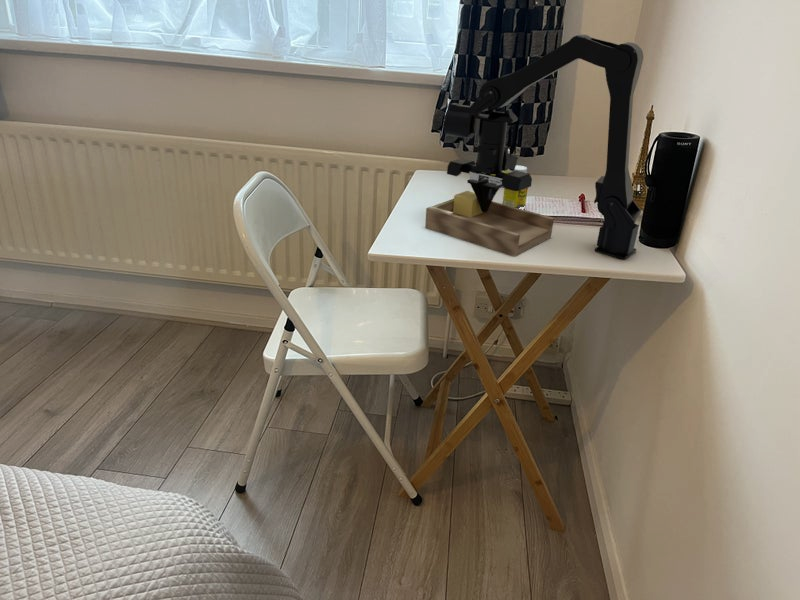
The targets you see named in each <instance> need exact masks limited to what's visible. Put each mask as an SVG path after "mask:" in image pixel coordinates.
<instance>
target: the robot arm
mask: <svg viewBox="0 0 800 600" xmlns="http://www.w3.org/2000/svg"><path fill="white" fill-rule="evenodd" d="M577 60H582V61H585V62H588V63H589V64H592V65H593V66H597V67H600V68H603V69H604V72H605V80H606V85H607V90H608V93H609V100H610V101H609V114H608V115H609V117H608V129H607V130H608V131H607V132H608V133H607V149H606V150H607V151H606V153H607V154H606V165H605V166H606V168H605V169H606V170H605V175H601V176H600V177H599V178H598V179H597V180H596V182H595V183H594V185H595V186H594V187H595V198H594V201H593V203H594V204H596V206H597V210H598V213H600V214H601V215H602V217H603V222H602V226H600V227H599V229H598V234H597V235H598V236H597V241H596V246H597V247H595V248H594V251H595V252H596V253H600V254H604V255H608V256H611V257H614V258H618V259H621V260H626V259H627V258H629V257H631V256H632V255H633V254H635V253H636V252H637V248H635V245H636V240H637V236H638V232H639V228H640V225H639V224H636V221H637V220H638V218H639V217H640V215H641V213H642V209H641V208H640V207H639V206H638V205H637V203H636V202H635V201H634V194H633V186H632V179H631V175H630V170H629V162H630V161H629V160H630V146H631V132H632V121H633V120H632V118H633V117H632V116H633V114H632V113H633V103H634V94H635V90H636V87H637V84H638V80H639V77H640V75H641V70H642V65H643V61H644V52H643V50H642V48H641V47H640V46H639V45H638V44H637V43H635V42H630V41H629V42H624V43H620V44H617V43H614V42H610V41H606V40H602V39H599V38H595V37H591V36H590V35H588V34H578V35H574V36H572V37H571V38H570V40H568V41H567V42H564V43H563V44H561V45H560V46H558V47H556V48H555V49H553V50H551V51H550V52H548V53H546V54H544V55H543V56H541V57H539V58H537V59H535V60H534V61H532V62H530V63H529V64H527V65H525V66H523V67H522V68H521V69H518V70H517V71H516V70H515V71H514V72H510V73H508V74H505V75H502V76H499V77H497V78H494V79H490V80H488V81H486V82H484V83H483V84H482V85H481V86H480V88H479V92H478V97H477V98H476V99H475V100H474V102H473V103H472V104H471V105H466V104H461V103H458V102H457V103H456V102H453V103H450V104H449V105H448V107H449V108H448V111H447V112H446V114H445V119H444V121H443V133H444V134H445V136H448V137H449V136H451V137H457V138H465V139H470V140H471V139H473V138H474V137H475V135H478V137H477V138H478V139H477V145H475V146H473V151H474V152H476V161H475V160H473V159H472V160H471V159H466V158H463V157H460V158H458V159H453V160H451V161H449V163H448V164H447V167H446V175H450V176H453V177H459V176H460V175H461V174H462V173H466V174H469V179H467V183H468V184H469V185H470V186H471V188H472V192H474V193H475V195H476V197H477V200H478V203H479V205H480V208H481V211H482V212H487V210H488V208H489V206H490V204H491V202H492V201H494V198H495V196H496V194H497V193H498V192H499V190H500V189H501V188H503V189H504V188H505V189H509V190H513V191H520V190H523V189H526V188H530V187H532V183H533V181H532V180H533V178H532V176H531V173H529V172H527V173H525V172H520V171H514V170H515V166H516V165H517V162H518V160H519V156H516V155H514V154H511V153H510V152H509V153H508V149H509V146H508V145H506V140H507V139H506V136H507V129H508V123H509V124H512V123H515V122H517V121H518V120H519V118H518V117H517V114H515V113H514V112H513V109H512V108H510V109H507V110H505V112H504V111H495V110H498V109H501V108H503V107H505V106H508V105H510V103H512V102H513V101H514V100H516V99H517V98H518V97H519V96H521V95H522V93H524V92H525V91H526V90H528V88H529V87H530V86H532V85H534V84H536V83H538V82H540V81H542V80H543V79H545V78H547V77H548V76H550V75H552V74H554V73H556V72H558V71H559V70H561V69H563V68H564V67H567V66H568V65H570V64H572V63H574V62H576V61H577ZM486 111H491V112H490V113H489V114H485V113H484V114H483V112H486ZM508 169H509V170H511V171H513V172H510V173H503V172H502V171H506V170H508ZM491 174H493V175H491ZM494 175H495V176H494Z"/></svg>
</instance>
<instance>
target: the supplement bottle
mask: <svg viewBox="0 0 800 600" xmlns="http://www.w3.org/2000/svg"><path fill="white" fill-rule="evenodd" d="M514 171H520V172H525V173H528V167H527V166H523V165H518V164H516V166H515V170H514ZM510 172H513V171H511V170H510ZM528 188H529V187H528ZM528 188H526V189H523V190H520V191H513V190H509V189H505V188H504V187H503V197H502V204H504V205H508V206H511V207H515V208H520V207H524V206H525V207H526V204H527V203H526V202H527V197H528V196H527V194H528V190H529V189H528Z"/></svg>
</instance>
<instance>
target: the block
mask: <svg viewBox="0 0 800 600" xmlns="http://www.w3.org/2000/svg"><path fill="white" fill-rule="evenodd" d="M453 199H454V206H453V212H454V213H458V214H461V215H465V216H468V217H473V216H476V215H478V214H481V213H483V212H482V211H481V208H480V205H479V203H478V200H477V197H476V195H475V193H474V191H470V190H465V191H462V192H459V193H457V194H455V195H454V196H453Z"/></svg>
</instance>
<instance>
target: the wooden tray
mask: <svg viewBox="0 0 800 600" xmlns="http://www.w3.org/2000/svg"><path fill="white" fill-rule="evenodd" d="M453 206H454V198H452V199H449V200H446V201H443V202H441V203H438V204H435V205H431V206H429V207H426V208H425V209H426V210H425V224H424V225H425V227H424V228H425V229H429V230H432V231H434V232H436V233H437V232H438V233H440V234H443V235H447V236H451V237H453V238H456V239H460V240H462V241H465V242H468V243H471V244H475V245H478V246H481V247H484V248H486V247H487V248H486V249H490V250H493V251H495V252H500V253H502V254H505V255H508V256H510V257H511V256H512V257H517V256H519V255H521V254H522V253H524V252H526V251H528V250H531V249H532V248H534V247H535V246H538V245H540V244H541V243H543V242H546V241H547V240H548V241H549V239H551V238H552V233H553V226H554V222H555V221H554V220H555V218H554V217H553V216H548V215H544V214H540V213H537V212H533V211H530V210H525V209H524V210H522V209H519V208H515V207H511V206H508V205H504V204H503V203H500V202H496V201H494V200H492V202H491V204H490V206H489V208H488V210H487V212H483V213H481V214H478V215H476V216H473V217H468V216H465V215H461V214H458V213H454V212H453Z"/></svg>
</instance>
